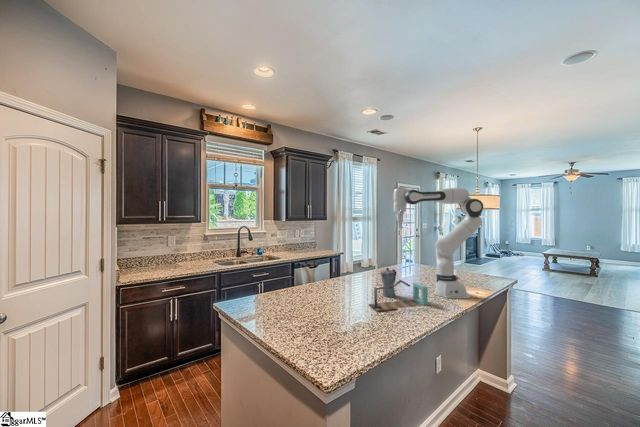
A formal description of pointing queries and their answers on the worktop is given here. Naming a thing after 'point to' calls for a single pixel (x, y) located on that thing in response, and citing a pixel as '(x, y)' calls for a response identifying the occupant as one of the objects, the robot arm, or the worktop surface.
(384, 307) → the board
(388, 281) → the moka pot
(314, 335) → the worktop surface
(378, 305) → the wire
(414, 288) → the teal square frame
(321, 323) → the worktop surface
